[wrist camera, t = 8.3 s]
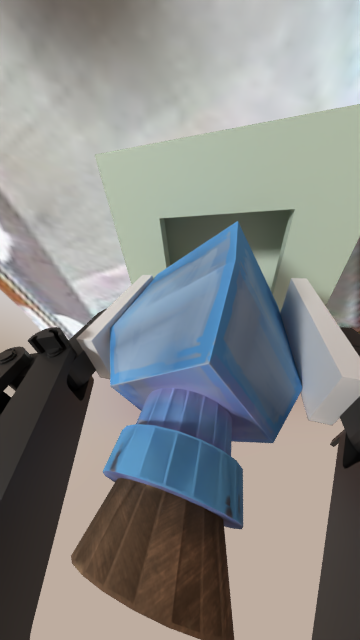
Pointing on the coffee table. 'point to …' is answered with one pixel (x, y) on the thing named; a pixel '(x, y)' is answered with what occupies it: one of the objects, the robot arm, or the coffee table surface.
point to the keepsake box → (244, 197)
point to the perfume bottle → (188, 434)
